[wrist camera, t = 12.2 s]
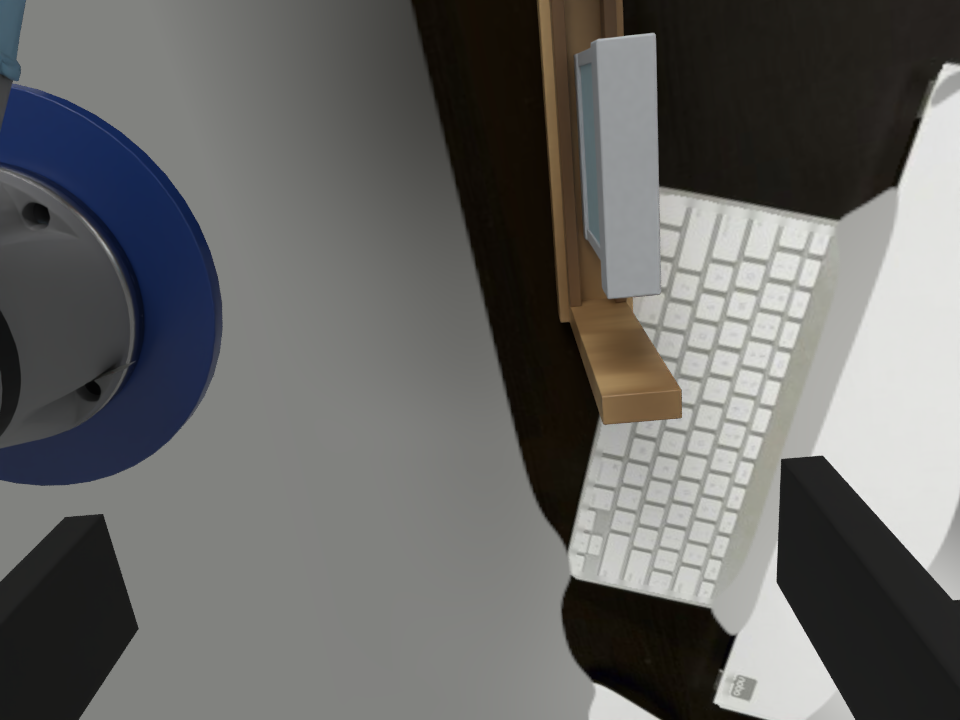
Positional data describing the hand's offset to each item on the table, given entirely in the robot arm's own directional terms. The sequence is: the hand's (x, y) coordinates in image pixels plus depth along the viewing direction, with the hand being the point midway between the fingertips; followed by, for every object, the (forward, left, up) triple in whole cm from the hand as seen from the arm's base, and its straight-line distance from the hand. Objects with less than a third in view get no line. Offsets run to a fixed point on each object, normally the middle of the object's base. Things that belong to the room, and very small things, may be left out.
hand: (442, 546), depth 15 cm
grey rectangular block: (+6, +5, -27) cm, 28 cm away
